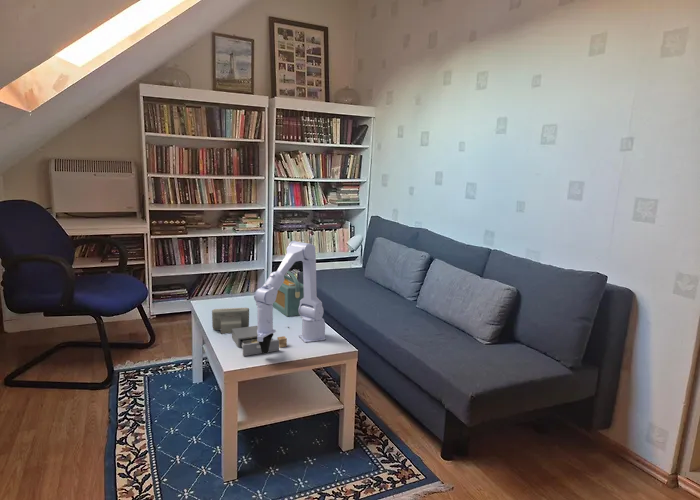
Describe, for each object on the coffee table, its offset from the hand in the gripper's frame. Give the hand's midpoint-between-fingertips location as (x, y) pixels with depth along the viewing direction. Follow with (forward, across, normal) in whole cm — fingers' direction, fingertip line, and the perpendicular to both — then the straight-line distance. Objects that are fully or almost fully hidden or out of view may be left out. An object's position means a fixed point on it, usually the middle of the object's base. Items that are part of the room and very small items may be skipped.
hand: (265, 352), depth 181 cm
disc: (+1, +9, +6) cm, 11 cm away
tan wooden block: (+2, +13, -4) cm, 14 cm away
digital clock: (+3, +28, +23) cm, 36 cm away
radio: (+3, +62, +5) cm, 63 cm away
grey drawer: (+2, +9, +6) cm, 11 cm away
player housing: (+2, +17, +10) cm, 20 cm away
